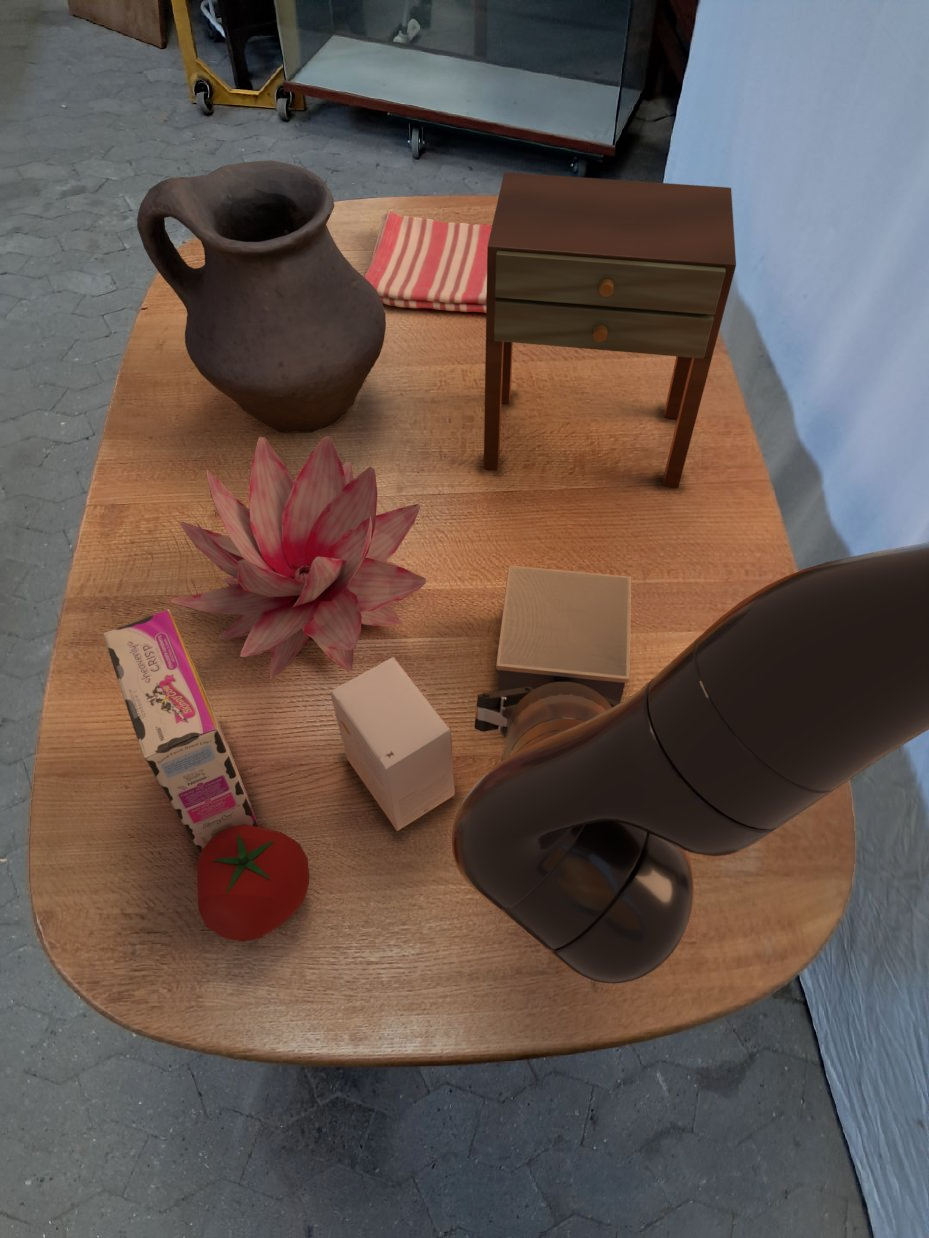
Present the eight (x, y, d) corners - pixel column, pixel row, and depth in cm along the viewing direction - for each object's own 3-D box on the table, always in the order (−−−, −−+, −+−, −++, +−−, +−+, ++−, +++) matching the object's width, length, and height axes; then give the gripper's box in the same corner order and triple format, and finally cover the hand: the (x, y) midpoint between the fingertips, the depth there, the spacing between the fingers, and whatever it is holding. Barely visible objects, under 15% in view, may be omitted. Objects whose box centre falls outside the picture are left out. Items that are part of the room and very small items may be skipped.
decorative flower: (192, 726, 76) (140, 619, 64) (197, 537, 89) (154, 418, 76) (445, 691, 78) (441, 581, 66) (414, 511, 90) (406, 391, 78)
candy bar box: (266, 835, 70) (219, 730, 57) (204, 863, 69) (141, 762, 56) (221, 723, 76) (169, 604, 63) (163, 747, 75) (97, 631, 62)
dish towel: (383, 232, 121) (381, 207, 118) (558, 243, 119) (560, 218, 116) (359, 309, 111) (356, 283, 108) (550, 322, 109) (552, 296, 106)
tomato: (215, 847, 70) (192, 806, 64) (319, 845, 70) (305, 804, 64) (198, 953, 65) (172, 920, 59) (310, 951, 65) (294, 918, 59)
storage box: (617, 724, 76) (629, 679, 70) (494, 711, 77) (496, 665, 71) (620, 625, 82) (631, 576, 76) (505, 614, 83) (508, 564, 77)
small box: (456, 796, 72) (454, 730, 64) (396, 834, 70) (386, 771, 62) (402, 724, 76) (394, 653, 68) (344, 757, 74) (328, 689, 66)
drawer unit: (678, 498, 91) (737, 275, 71) (481, 478, 93) (485, 255, 73) (678, 410, 99) (731, 187, 79) (497, 394, 101) (504, 172, 81)
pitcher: (394, 464, 94) (373, 242, 74) (183, 475, 94) (105, 253, 74) (390, 342, 107) (372, 123, 87) (204, 351, 106) (142, 131, 86)
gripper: (682, 708, 54) (649, 657, 71) (463, 683, 55) (483, 639, 72) (666, 827, 55) (638, 749, 73) (452, 801, 56) (474, 730, 74)
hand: (560, 694), depth 72 cm, fingers closed
